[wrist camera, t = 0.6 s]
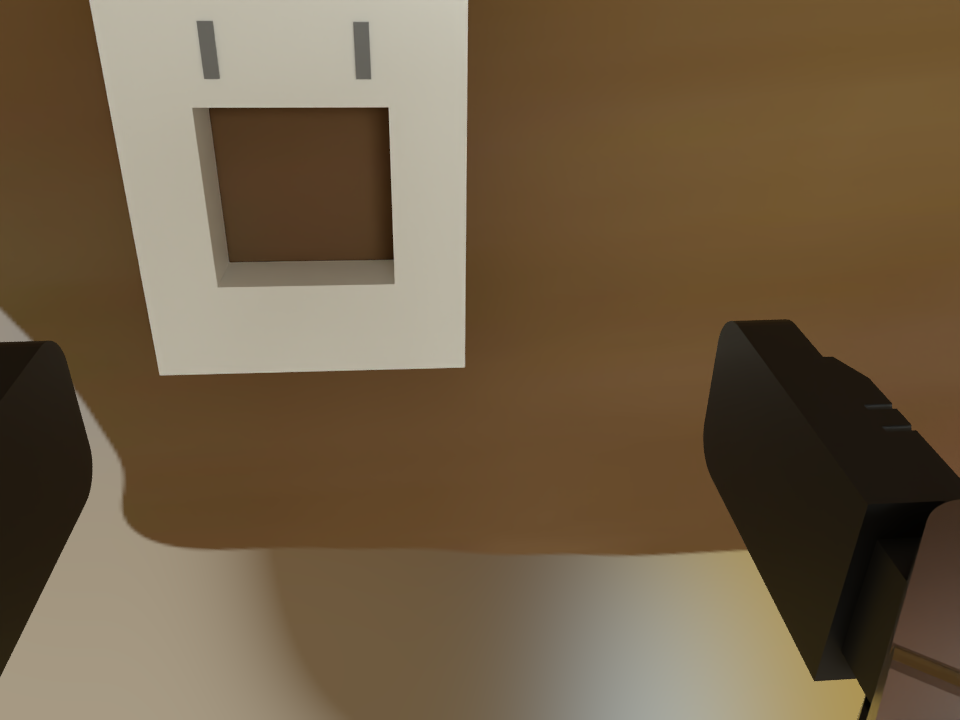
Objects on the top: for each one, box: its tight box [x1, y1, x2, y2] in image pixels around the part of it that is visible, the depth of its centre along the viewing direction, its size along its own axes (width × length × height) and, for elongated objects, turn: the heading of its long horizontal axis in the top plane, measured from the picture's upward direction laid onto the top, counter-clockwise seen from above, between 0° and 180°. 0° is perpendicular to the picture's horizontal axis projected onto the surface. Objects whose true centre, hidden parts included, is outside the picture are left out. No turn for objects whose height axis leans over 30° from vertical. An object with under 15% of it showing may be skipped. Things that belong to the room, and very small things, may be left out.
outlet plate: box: [89, 0, 468, 375], centre depth 32 cm, size 14×12×3 cm
